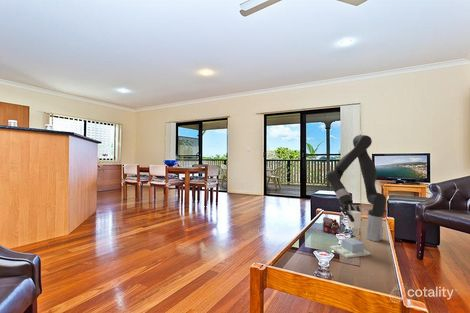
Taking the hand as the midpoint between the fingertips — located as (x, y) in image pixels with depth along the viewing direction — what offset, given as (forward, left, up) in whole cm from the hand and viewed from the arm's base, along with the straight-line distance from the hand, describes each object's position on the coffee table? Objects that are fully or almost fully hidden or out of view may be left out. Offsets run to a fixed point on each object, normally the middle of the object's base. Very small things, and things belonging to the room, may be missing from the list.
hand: (356, 221), depth 151 cm
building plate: (+2, -2, -19) cm, 19 cm away
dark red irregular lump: (-10, -33, -20) cm, 40 cm away
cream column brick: (0, -2, -4) cm, 5 cm away
